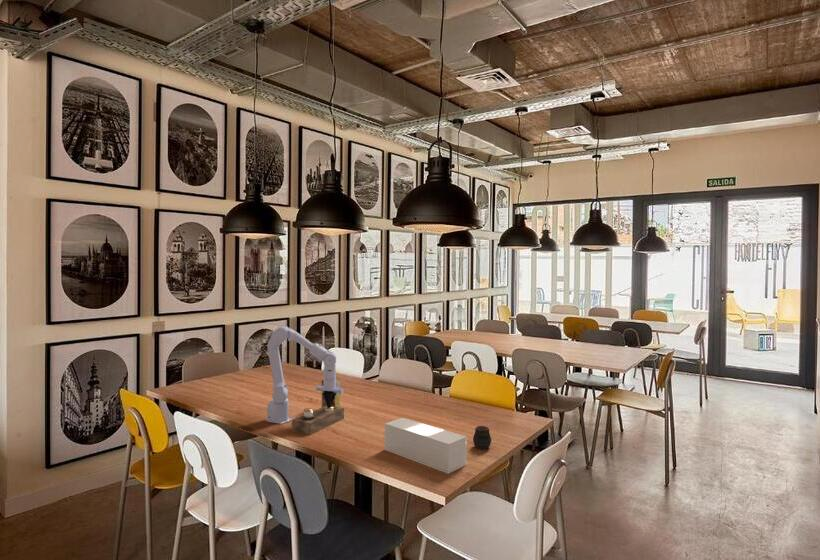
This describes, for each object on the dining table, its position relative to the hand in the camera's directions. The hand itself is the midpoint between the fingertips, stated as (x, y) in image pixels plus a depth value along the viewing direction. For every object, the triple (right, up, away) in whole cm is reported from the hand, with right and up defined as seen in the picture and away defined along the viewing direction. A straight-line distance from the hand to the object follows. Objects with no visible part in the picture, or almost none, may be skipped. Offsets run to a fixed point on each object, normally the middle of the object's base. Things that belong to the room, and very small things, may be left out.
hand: (329, 407), depth 226 cm
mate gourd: (+67, -8, -33) cm, 75 cm away
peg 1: (-7, -2, -14) cm, 16 cm away
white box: (+43, -8, -44) cm, 62 cm away
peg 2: (0, -5, 0) cm, 4 cm away
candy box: (-2, -6, +17) cm, 18 cm away
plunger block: (-4, -6, -7) cm, 10 cm away
